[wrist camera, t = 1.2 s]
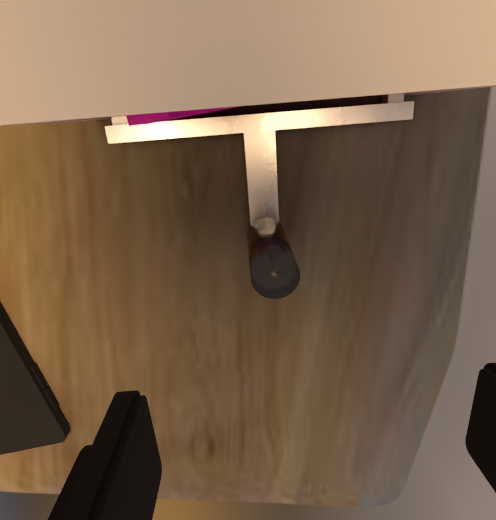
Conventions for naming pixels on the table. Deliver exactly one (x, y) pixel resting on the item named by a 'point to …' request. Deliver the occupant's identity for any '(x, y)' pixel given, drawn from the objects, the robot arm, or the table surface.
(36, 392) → the smart home device
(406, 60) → the tunnel
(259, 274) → the slider
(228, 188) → the table surface
